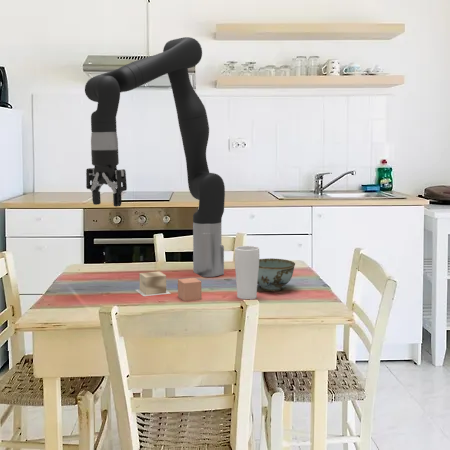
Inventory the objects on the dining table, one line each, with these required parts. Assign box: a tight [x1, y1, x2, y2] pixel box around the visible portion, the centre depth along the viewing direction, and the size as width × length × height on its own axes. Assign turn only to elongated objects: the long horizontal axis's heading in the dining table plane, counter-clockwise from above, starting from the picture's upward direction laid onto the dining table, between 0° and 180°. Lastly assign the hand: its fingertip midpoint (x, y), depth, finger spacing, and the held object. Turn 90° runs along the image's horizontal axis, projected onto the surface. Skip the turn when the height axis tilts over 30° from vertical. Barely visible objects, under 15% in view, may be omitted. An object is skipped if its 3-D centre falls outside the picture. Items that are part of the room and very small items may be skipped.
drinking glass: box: [234, 245, 260, 300], centre depth 184 cm, size 7×7×15 cm
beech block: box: [139, 271, 167, 295], centre depth 190 cm, size 6×6×5 cm
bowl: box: [257, 258, 296, 292], centre depth 199 cm, size 14×13×8 cm
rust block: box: [177, 277, 202, 302], centre depth 183 cm, size 5×5×5 cm
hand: (106, 205), depth 191 cm, fingers open, 8 cm apart
